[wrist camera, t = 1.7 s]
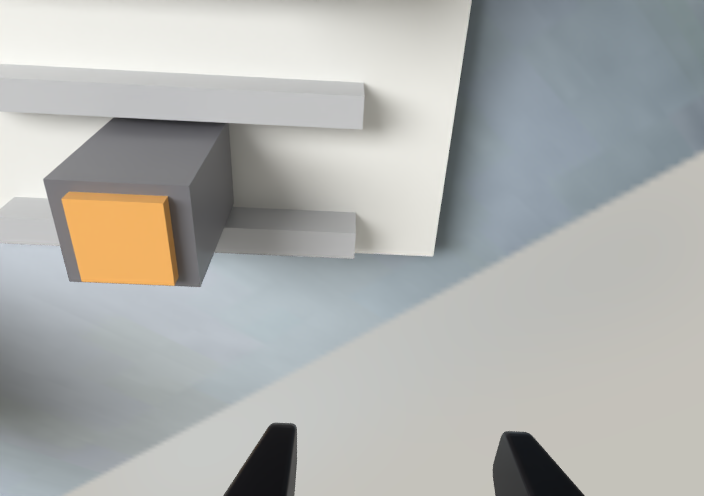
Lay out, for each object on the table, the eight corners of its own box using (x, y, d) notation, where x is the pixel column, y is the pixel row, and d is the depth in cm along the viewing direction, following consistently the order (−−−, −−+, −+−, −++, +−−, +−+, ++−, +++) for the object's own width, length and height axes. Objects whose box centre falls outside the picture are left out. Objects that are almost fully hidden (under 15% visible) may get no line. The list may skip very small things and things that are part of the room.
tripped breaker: (132, 198, 19) (62, 290, 15) (117, 113, 18) (34, 186, 13) (233, 203, 19) (196, 296, 15) (228, 119, 18) (184, 193, 13)
